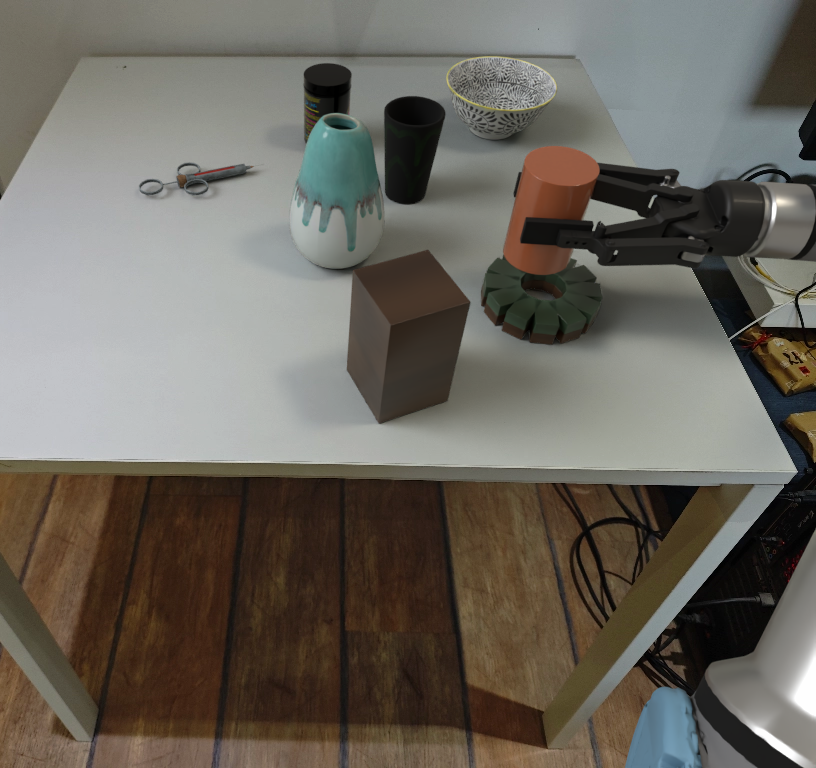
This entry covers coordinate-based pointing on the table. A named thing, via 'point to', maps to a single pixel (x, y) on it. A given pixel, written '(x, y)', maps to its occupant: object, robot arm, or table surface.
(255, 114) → the table surface
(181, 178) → the syringe
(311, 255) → the vase
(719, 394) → the table surface
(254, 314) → the table surface
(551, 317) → the segmented green ring
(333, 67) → the supplement container
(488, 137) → the bowl
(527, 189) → the orange glossy cylinder
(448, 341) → the dark brown rectangular block
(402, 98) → the cup
